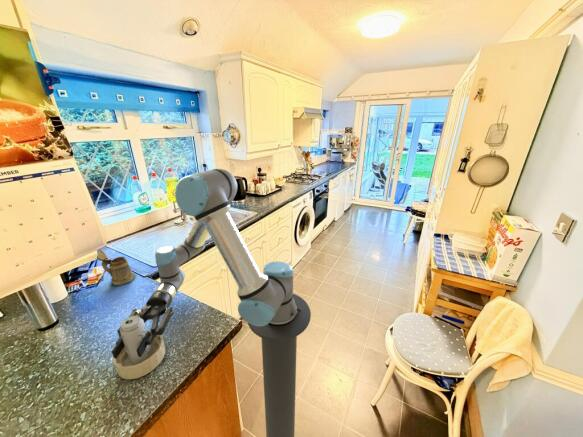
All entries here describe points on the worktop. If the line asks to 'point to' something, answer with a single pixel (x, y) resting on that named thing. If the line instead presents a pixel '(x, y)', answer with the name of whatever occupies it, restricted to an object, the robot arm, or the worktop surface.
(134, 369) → the bowl
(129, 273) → the wooden mug
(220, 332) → the worktop surface
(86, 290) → the worktop surface
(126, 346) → the energy drink can
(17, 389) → the worktop surface
